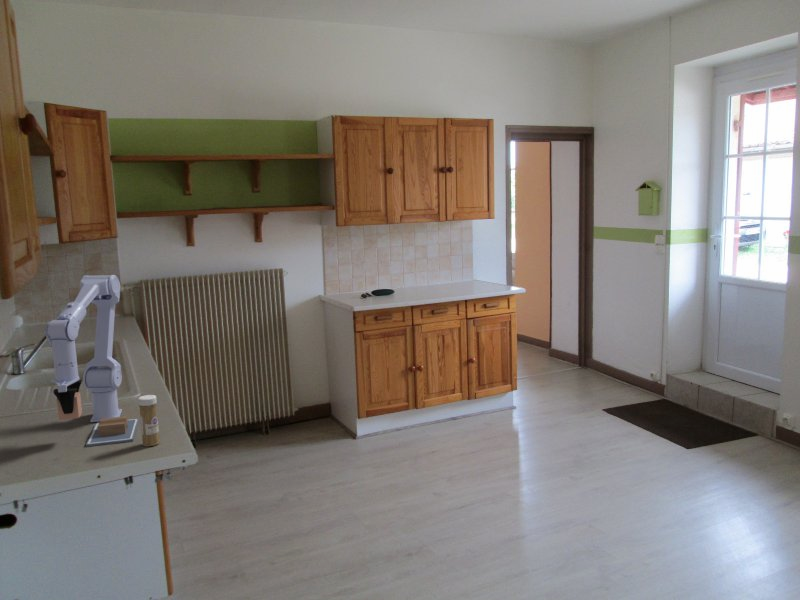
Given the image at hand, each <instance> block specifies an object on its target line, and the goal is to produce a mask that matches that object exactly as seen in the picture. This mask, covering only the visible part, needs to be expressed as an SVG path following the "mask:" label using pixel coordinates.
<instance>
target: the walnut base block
mask: <svg viewBox="0 0 800 600" xmlns="http://www.w3.org/2000/svg"><path fill="white" fill-rule="evenodd" d="M128 420H129V419H128V415H125V416H124V415H123V416H120V417H112V418H103V419H101V420H100V421H99V422H98V423H99V425H98V435H99V437H101V436H109V435H118V434H125V433H126V430H127V427H128Z"/></svg>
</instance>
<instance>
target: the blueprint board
mask: <svg viewBox="0 0 800 600" xmlns="http://www.w3.org/2000/svg"><path fill="white" fill-rule="evenodd" d="M127 420H128V427H127V430H126V433H125V434H118V435H109V436H101V437H99V435H98V425H99V423H100V422H97V423H96V422H95V425H94V426H93V428H92V431H91V432H90V434H89V437H88V439H87V441H86V442H85V448H87V447H94V446H95V447H96V446H104V445H112V444H122V443H129V442H134V440H135V437H136V432H137V428H138V425H139V422H140V419H139V418H133V419H131V418H130V419H127Z"/></svg>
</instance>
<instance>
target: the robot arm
mask: <svg viewBox="0 0 800 600" xmlns="http://www.w3.org/2000/svg"><path fill="white" fill-rule="evenodd" d="M79 287H80V289H79V292H78V294H77V295H76V296H75V299H74V301H70V302H68V303H67V304H66V305H65V306H64V308H63V309H62V311H61V312H60V313H59V314H58V316H57V317H56V318H55V319H52V320H50V321H48V323H47V324H46V328H45V337H46V340H47V341H48V345H49V346H50V348H51V349H52V351H51V352H52V359H53V370H54V377H53V378H51V379H50V383H52V384H53V383H55V384H56V386H57V388H54V389H53V391H52V392H53V395H54V396H55V397H56V399H57V398H58V400H59V402H60V404H61V407H62V410H63V412H64V414H69V413H73V408H74V396H75V393H76V392H80V387H81V384H83V385H84V387H85V389H87V390H88V392H90V396H91V406H92V417H91V419H90V420H89V421H90V423H94V422H95V423H96V422H97V423H99V422H100V420H101V419H103V418H112V417H121V414H122V412H123V408H119V401H118V391H117V389H118V388H119V387H120V386H121V384H122V381H123V374H122V364H120V363H119V362H118V361H117V360H116V359H114V358H113V350H114V349H113V345H114V332H115V331H114V329H115V316H116V304H118V303H120V298H121V283H120V280H119V278H118V276H117V275H115V274H111V275H110V274H109V275H108V274H106V275H102V274H100V275H98V274H97V275H88V274H87V275H86V274H85V275H83V276H82V277H81V279H80V281H79ZM91 303H92V304H94V305H95V306H96V307H97V308H96V309H97V311H96V326H95V338H94V339H95V340H94V341H95V342H94V352H93V353H94V354H93V358H92V359H90V360H89V361H88V362H87V363H86V364H85V369H84V372H83V375H82V380H81V378H80V375H79V369H78V368H79V367H78V360H77V358H78V357H77V350H76V349H77V347H76V341H75V340H76V339H77V338H78V336H79V330H80V327H81V326H80V324H82V322H83V320H84V318H85V317H86V315H87V313H88V312H87V308H88V306H89V305H90V304H91Z"/></svg>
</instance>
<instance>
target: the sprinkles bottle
mask: <svg viewBox="0 0 800 600" xmlns="http://www.w3.org/2000/svg"><path fill="white" fill-rule="evenodd" d="M138 407H139V414H140V416H139V417H140V419H139V421H140V428H141V430H140V431H141V438H142V445H143V446H144V447H154V446H157V445H159V444H160V443H161V440H160V436H159V435H160V433H159V431H160V430H159V421H158V412H157V411H158V410H157V409H158V408H157V395H154V394H145V395H142V396H139V397H138Z"/></svg>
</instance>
